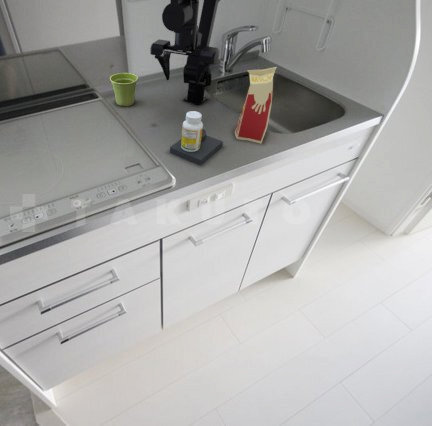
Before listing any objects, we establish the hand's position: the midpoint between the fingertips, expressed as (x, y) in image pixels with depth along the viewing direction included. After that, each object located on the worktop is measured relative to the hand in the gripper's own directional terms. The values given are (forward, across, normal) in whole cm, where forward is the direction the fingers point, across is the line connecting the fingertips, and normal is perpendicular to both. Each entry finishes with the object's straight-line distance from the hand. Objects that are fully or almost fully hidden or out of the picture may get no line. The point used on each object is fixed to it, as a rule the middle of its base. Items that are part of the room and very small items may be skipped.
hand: (182, 82), depth 91 cm
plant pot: (+12, +22, -3) cm, 25 cm away
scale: (+12, -11, +15) cm, 22 cm away
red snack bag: (+12, -23, 0) cm, 26 cm away
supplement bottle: (+10, -10, +17) cm, 22 cm away
